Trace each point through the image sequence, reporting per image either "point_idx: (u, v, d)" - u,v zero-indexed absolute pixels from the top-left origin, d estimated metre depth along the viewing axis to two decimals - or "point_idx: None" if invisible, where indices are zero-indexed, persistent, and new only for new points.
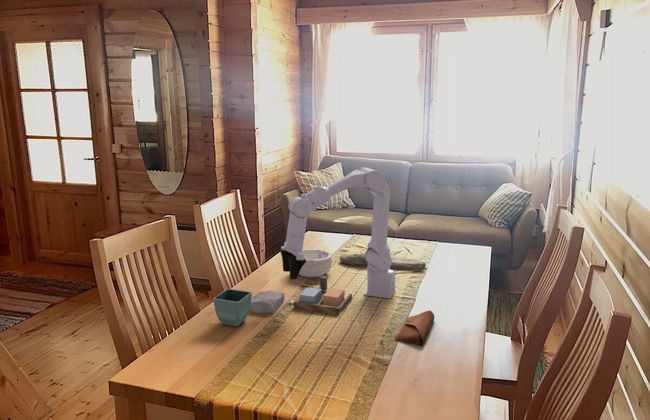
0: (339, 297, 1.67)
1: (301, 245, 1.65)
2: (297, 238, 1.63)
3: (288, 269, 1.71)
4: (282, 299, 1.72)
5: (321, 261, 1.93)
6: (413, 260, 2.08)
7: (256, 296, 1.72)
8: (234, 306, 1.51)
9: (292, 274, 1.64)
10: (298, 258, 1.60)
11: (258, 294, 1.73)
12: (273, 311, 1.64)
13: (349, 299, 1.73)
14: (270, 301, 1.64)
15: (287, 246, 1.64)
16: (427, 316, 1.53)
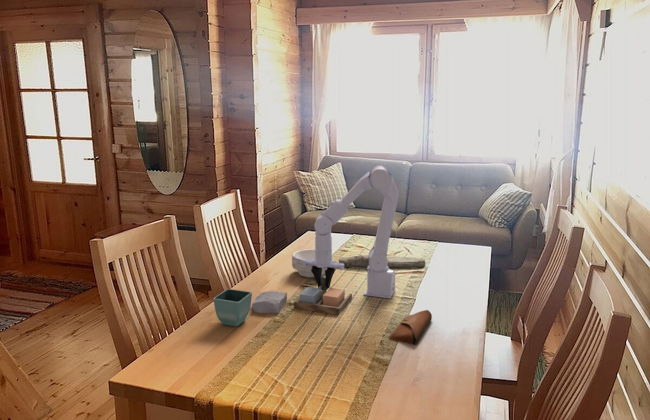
0: (339, 297, 1.67)
1: None
2: (330, 252, 1.78)
3: None
4: (285, 299, 1.72)
5: None
6: (412, 258, 2.10)
7: (259, 296, 1.72)
8: (234, 306, 1.51)
9: (328, 284, 1.80)
10: (342, 268, 1.77)
11: (261, 294, 1.73)
12: (277, 311, 1.64)
13: (349, 299, 1.73)
14: (273, 301, 1.64)
15: (324, 263, 1.77)
16: (423, 316, 1.54)
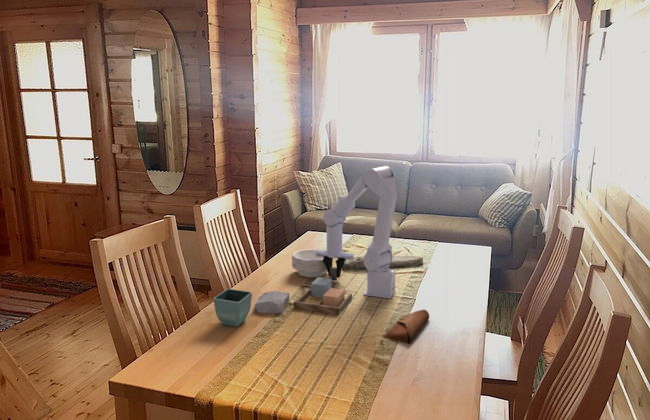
0: (339, 297, 1.67)
1: None
2: (341, 243, 1.88)
3: None
4: (288, 299, 1.72)
5: (321, 261, 1.93)
6: (410, 256, 2.13)
7: (261, 297, 1.72)
8: (234, 306, 1.51)
9: (339, 273, 1.91)
10: (352, 258, 1.88)
11: (263, 295, 1.73)
12: (281, 311, 1.64)
13: (349, 299, 1.73)
14: (277, 301, 1.64)
15: (335, 253, 1.87)
16: (420, 315, 1.54)
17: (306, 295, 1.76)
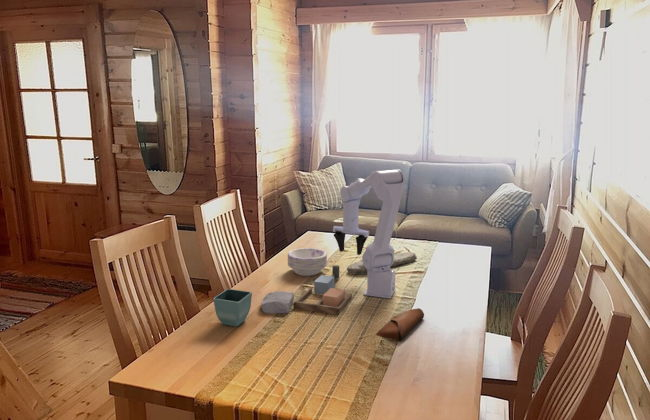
0: (339, 297, 1.67)
1: None
2: (357, 220, 1.91)
3: (343, 248, 1.97)
4: (292, 299, 1.72)
5: (319, 259, 1.95)
6: (403, 253, 2.17)
7: (266, 297, 1.71)
8: (234, 306, 1.51)
9: (359, 250, 1.92)
10: (367, 235, 1.89)
11: (267, 295, 1.73)
12: (287, 311, 1.64)
13: (349, 299, 1.73)
14: (284, 301, 1.64)
15: (349, 229, 1.90)
16: (414, 314, 1.55)
17: (306, 295, 1.76)
